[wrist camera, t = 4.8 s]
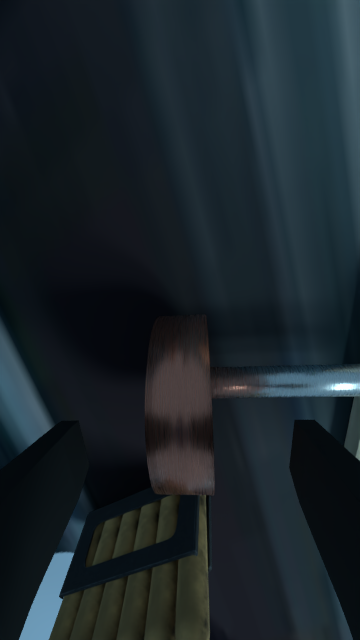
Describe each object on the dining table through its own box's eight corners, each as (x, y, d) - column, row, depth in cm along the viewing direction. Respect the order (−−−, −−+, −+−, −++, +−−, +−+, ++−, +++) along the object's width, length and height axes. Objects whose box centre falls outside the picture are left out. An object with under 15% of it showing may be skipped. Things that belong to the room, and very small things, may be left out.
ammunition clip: (101, 526, 21) (-4, 857, 10) (87, 513, 21) (-39, 845, 10) (211, 483, 19) (233, 858, 8) (198, 467, 18) (201, 842, 7)
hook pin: (412, 286, 12) (665, 355, 6) (382, 406, 15) (535, 553, 8) (165, 297, 13) (134, 367, 7) (174, 408, 15) (158, 542, 9)
